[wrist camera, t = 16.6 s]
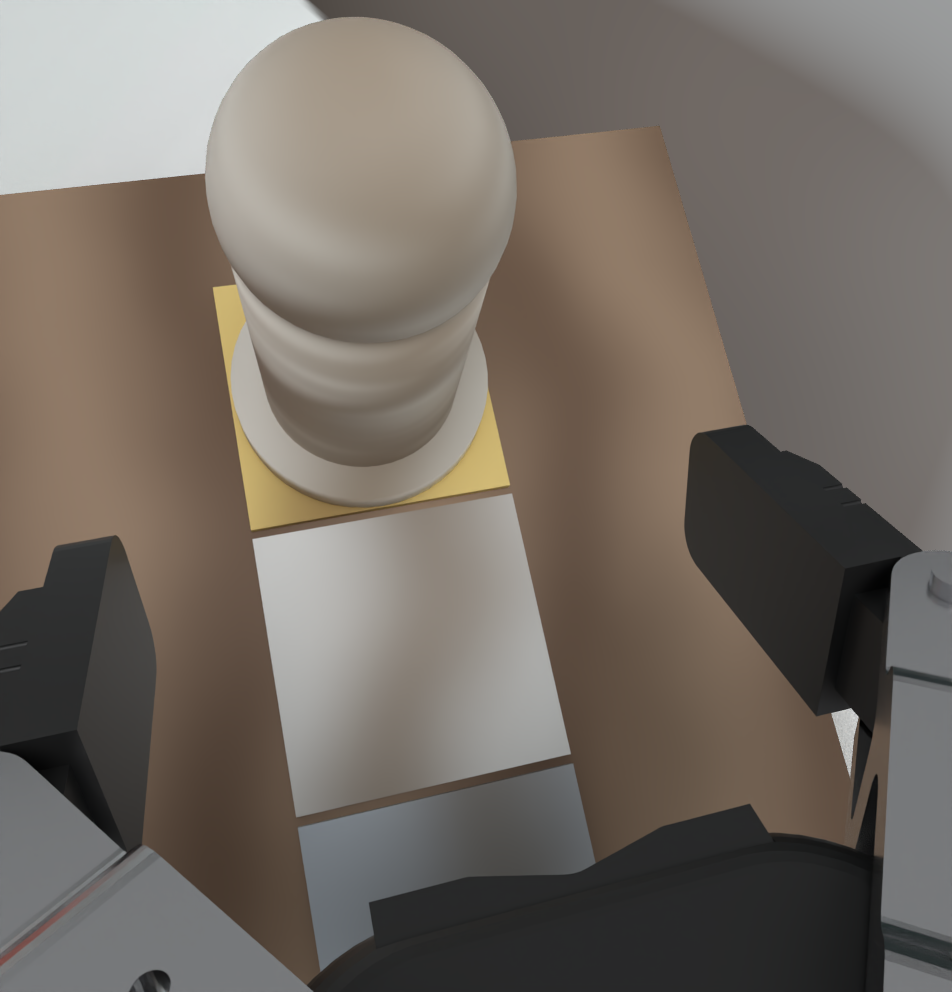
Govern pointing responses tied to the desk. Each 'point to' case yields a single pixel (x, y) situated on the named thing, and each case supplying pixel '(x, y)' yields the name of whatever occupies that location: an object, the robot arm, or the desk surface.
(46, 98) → the desk surface
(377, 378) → the pawn
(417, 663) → the game board
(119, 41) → the desk surface
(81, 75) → the desk surface
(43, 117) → the desk surface
